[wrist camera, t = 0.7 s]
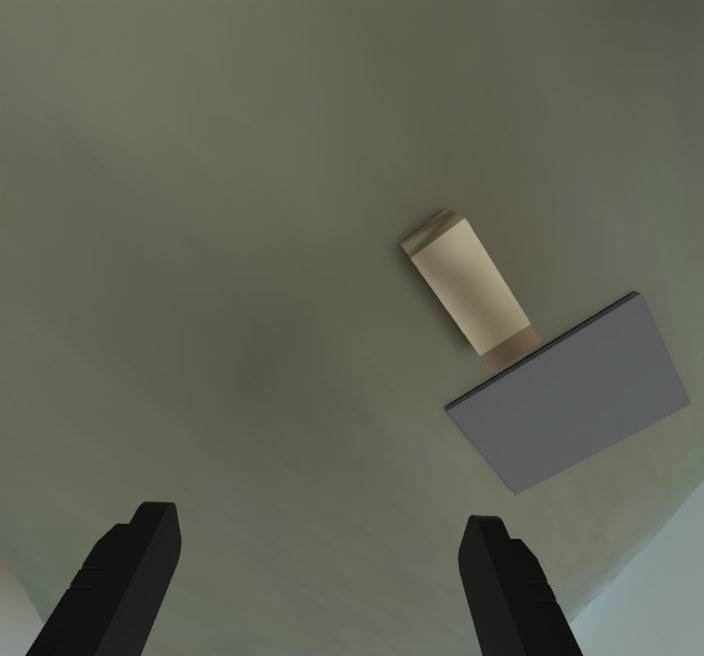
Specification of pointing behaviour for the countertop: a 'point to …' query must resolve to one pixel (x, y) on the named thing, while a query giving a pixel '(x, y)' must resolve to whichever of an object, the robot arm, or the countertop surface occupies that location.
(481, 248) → the maple bar
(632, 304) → the mat
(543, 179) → the countertop surface
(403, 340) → the countertop surface
